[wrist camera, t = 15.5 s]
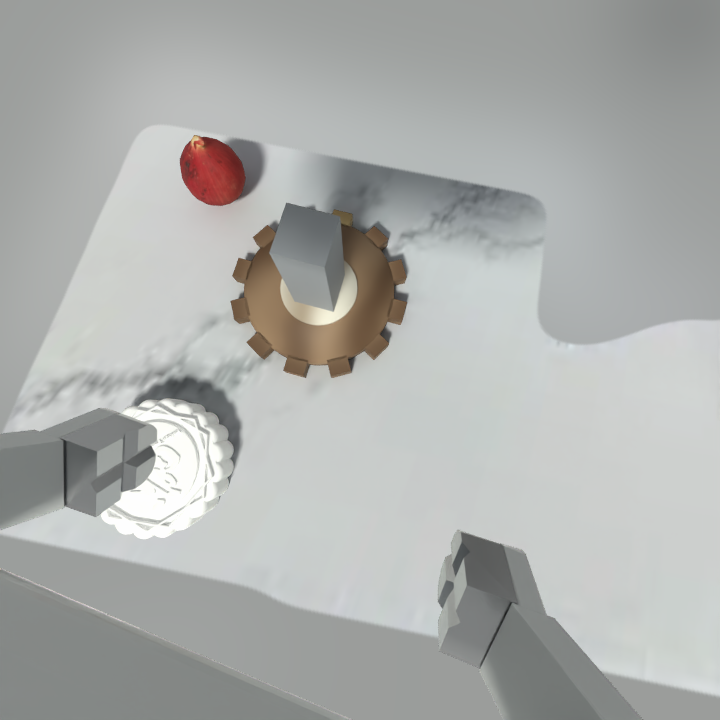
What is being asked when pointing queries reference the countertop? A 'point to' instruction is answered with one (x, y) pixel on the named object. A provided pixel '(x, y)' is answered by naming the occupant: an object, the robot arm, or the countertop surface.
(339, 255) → the gray rectangular block
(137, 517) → the mooncake
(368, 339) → the sprocket
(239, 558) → the countertop surface
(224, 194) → the red fruit
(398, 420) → the countertop surface
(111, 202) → the countertop surface
